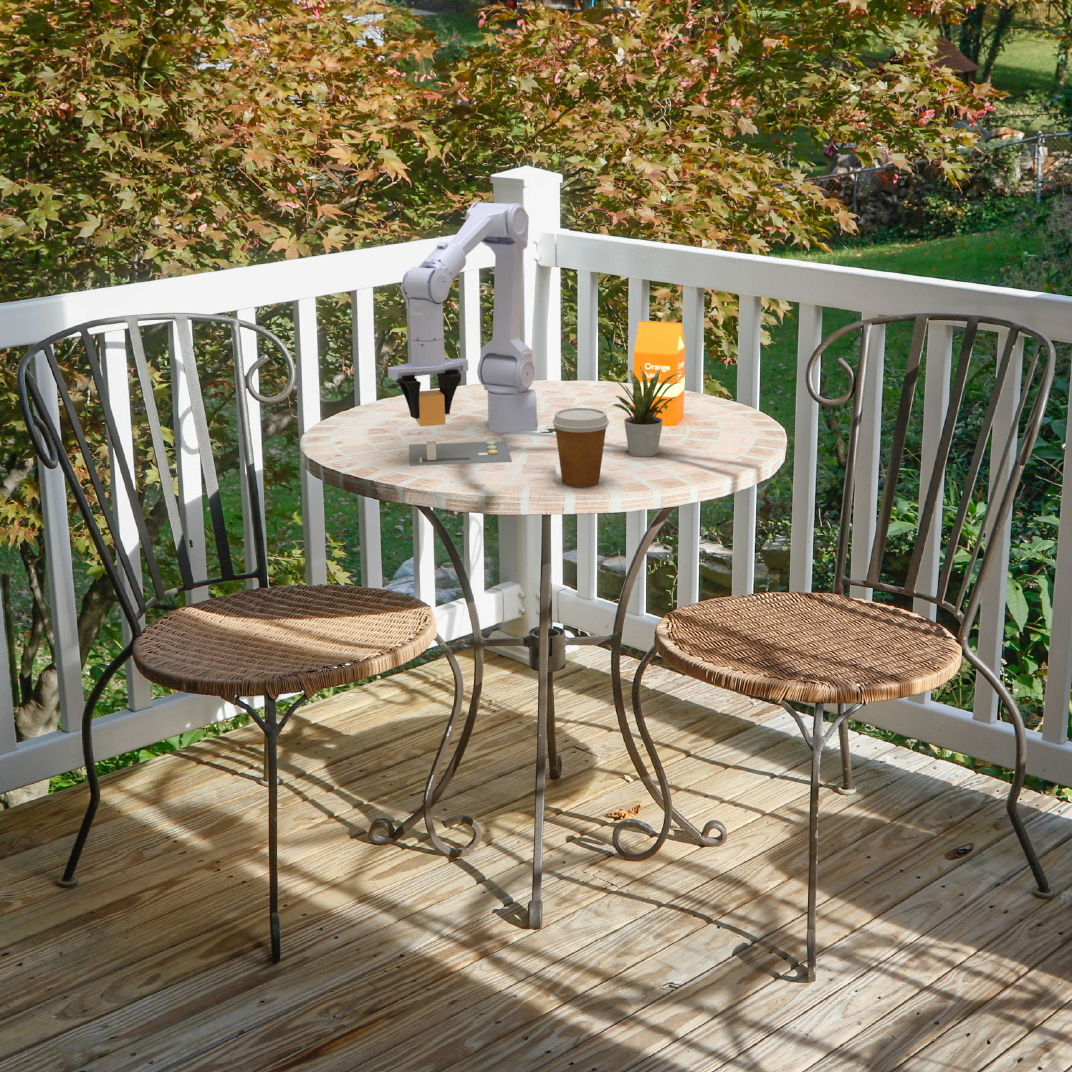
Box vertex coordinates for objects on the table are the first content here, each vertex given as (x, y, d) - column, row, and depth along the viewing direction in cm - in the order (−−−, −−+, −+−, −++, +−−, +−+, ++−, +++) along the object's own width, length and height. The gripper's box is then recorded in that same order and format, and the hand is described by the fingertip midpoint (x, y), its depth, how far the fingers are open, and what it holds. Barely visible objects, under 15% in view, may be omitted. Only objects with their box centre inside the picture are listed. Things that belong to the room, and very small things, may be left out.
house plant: (704, 453, 240) (707, 365, 234) (656, 469, 230) (657, 377, 225) (644, 439, 249) (646, 354, 244) (596, 454, 240) (596, 366, 235)
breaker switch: (436, 457, 233) (435, 441, 232) (436, 460, 231) (435, 443, 230) (427, 457, 233) (426, 441, 232) (427, 460, 231) (426, 443, 230)
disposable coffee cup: (612, 489, 219) (612, 419, 215) (555, 491, 219) (555, 421, 215) (604, 473, 228) (605, 406, 224) (550, 475, 228) (549, 407, 224)
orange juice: (675, 427, 258) (677, 326, 251) (632, 424, 261) (633, 324, 254) (683, 417, 265) (686, 319, 258) (641, 415, 268) (643, 317, 261)
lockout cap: (440, 418, 232) (439, 389, 231) (445, 424, 228) (444, 395, 226) (415, 420, 231) (414, 391, 229) (420, 426, 227) (419, 397, 225)
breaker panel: (506, 448, 244) (505, 438, 243) (512, 469, 231) (511, 458, 230) (409, 452, 242) (408, 441, 242) (409, 473, 229) (409, 462, 229)
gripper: (454, 330, 231) (456, 405, 236) (379, 338, 225) (382, 415, 229) (472, 336, 226) (475, 413, 230) (396, 345, 219) (399, 424, 223)
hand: (430, 415), depth 229 cm, fingers closed on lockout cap, 5 cm apart
